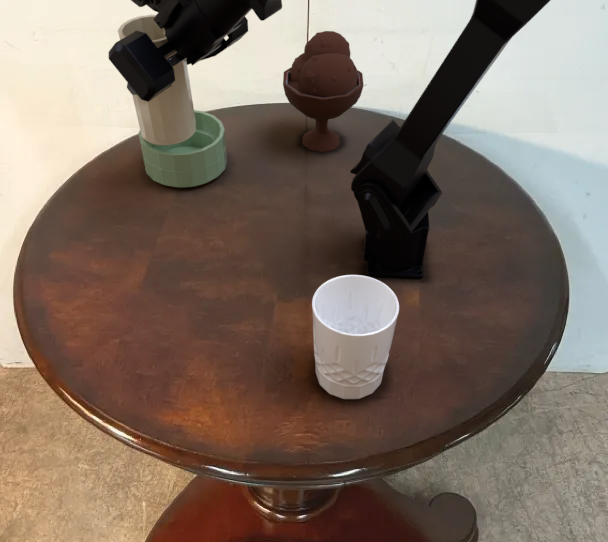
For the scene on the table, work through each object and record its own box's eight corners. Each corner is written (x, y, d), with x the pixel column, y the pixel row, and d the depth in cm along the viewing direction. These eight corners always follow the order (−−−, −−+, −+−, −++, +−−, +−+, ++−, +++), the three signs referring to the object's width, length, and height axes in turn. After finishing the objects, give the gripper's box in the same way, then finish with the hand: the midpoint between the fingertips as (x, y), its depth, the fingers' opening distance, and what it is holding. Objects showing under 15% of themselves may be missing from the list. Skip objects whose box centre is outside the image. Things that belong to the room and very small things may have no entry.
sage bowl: (232, 146, 98) (229, 111, 94) (220, 193, 90) (216, 156, 86) (155, 143, 98) (149, 107, 94) (137, 189, 91) (130, 152, 87)
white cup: (382, 411, 67) (393, 341, 60) (303, 397, 68) (304, 327, 61) (392, 351, 72) (403, 280, 65) (318, 339, 73) (320, 268, 66)
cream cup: (206, 131, 88) (192, 29, 78) (159, 152, 85) (137, 48, 75) (177, 109, 91) (160, 9, 82) (131, 128, 89) (107, 26, 79)
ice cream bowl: (273, 128, 101) (271, 24, 90) (345, 117, 104) (351, 14, 93) (294, 167, 95) (294, 61, 84) (370, 154, 97) (380, 49, 86)
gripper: (219, -94, 75) (154, -8, 87) (103, -40, 64) (47, 50, 76) (282, -3, 78) (211, 68, 90) (182, 63, 67) (116, 134, 79)
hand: (150, 77), depth 84 cm, fingers closed on cream cup, 7 cm apart
